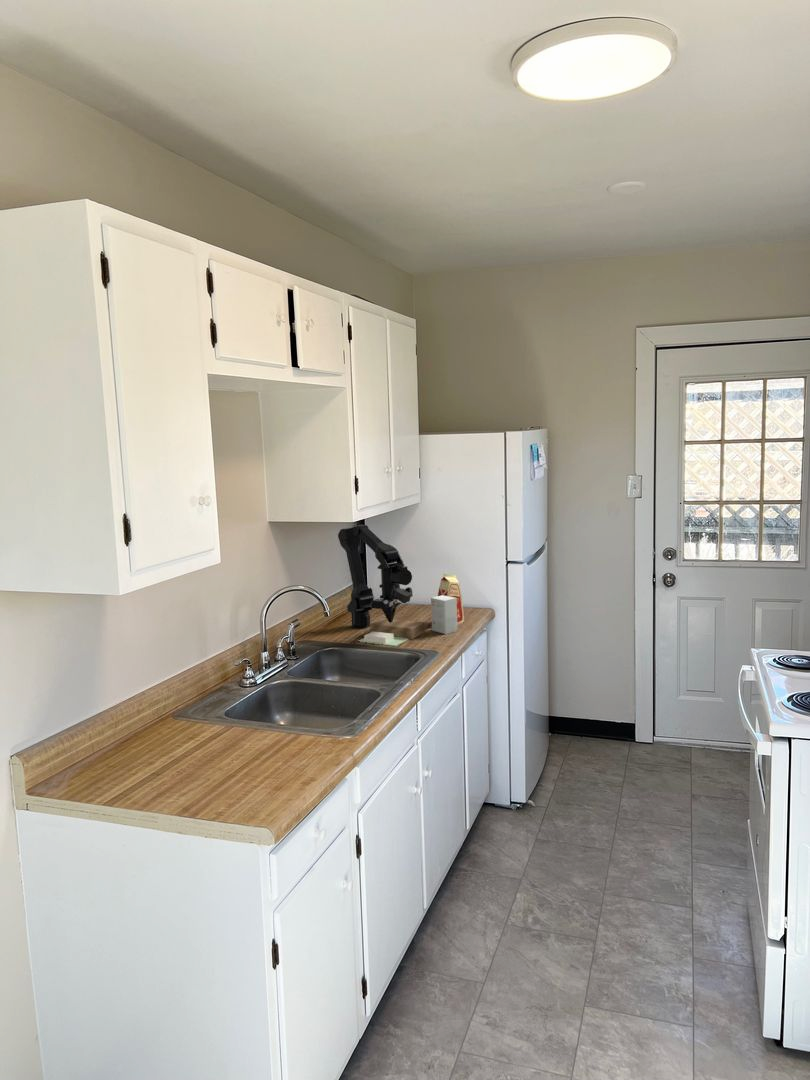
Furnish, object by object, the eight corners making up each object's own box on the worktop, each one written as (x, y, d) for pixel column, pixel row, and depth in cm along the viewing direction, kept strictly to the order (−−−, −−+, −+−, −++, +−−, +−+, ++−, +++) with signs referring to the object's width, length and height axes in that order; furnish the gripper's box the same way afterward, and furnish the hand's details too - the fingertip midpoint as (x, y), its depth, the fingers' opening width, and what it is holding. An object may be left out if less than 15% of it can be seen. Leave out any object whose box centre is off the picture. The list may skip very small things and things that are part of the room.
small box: (457, 631, 306) (457, 597, 304) (445, 634, 302) (444, 600, 300) (443, 627, 312) (442, 594, 310) (431, 630, 308) (430, 597, 306)
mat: (357, 641, 296) (357, 640, 296) (372, 634, 305) (371, 634, 305) (395, 646, 288) (395, 645, 288) (409, 639, 297) (409, 638, 297)
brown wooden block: (370, 634, 305) (370, 624, 305) (383, 628, 314) (383, 618, 314) (412, 639, 297) (411, 628, 296) (424, 632, 305) (424, 622, 305)
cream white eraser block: (372, 631, 301) (372, 636, 301) (364, 635, 296) (364, 640, 296) (393, 633, 296) (393, 639, 297) (385, 637, 291) (385, 643, 291)
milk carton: (449, 626, 314) (448, 576, 311) (433, 622, 321) (432, 573, 318) (466, 622, 319) (465, 572, 316) (450, 618, 326) (449, 569, 323)
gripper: (395, 588, 288) (397, 630, 290) (419, 578, 304) (421, 618, 307) (369, 585, 294) (370, 627, 296) (394, 576, 310) (395, 616, 312)
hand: (390, 622), depth 302 cm, fingers closed
